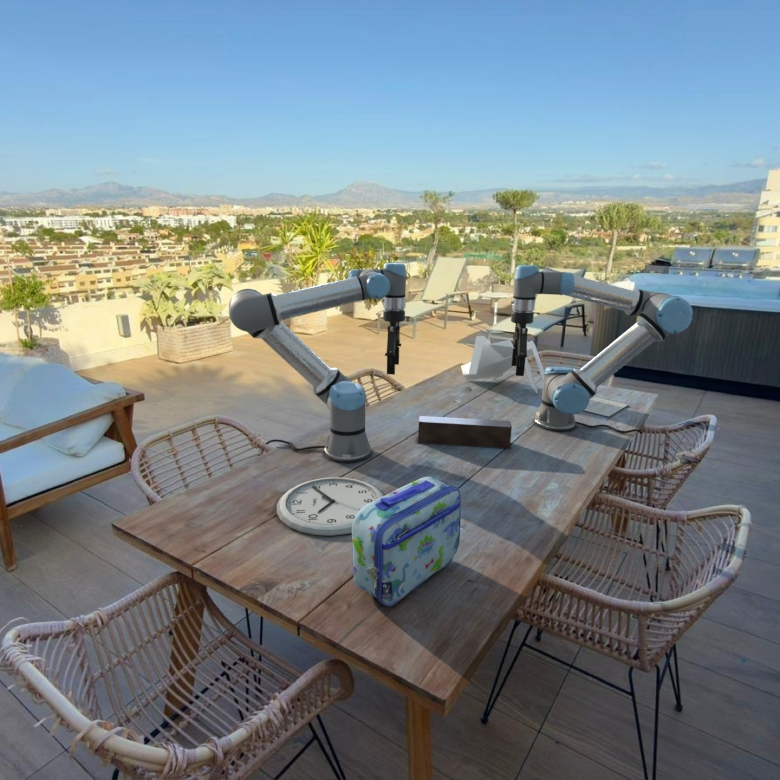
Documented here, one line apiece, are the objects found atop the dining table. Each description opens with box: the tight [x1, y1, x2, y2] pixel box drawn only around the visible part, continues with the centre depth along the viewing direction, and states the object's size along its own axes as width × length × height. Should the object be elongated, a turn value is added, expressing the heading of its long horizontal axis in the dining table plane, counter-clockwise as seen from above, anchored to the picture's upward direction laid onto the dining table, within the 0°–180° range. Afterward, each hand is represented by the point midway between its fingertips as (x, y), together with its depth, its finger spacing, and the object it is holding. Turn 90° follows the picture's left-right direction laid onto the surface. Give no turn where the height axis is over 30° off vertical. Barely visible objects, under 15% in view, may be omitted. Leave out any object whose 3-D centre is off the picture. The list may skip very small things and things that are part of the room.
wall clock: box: [276, 476, 385, 537], centre depth 142 cm, size 30×2×30 cm
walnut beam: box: [417, 415, 513, 449], centre depth 185 cm, size 32×6×8 cm, turn 83°
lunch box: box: [351, 476, 462, 607], centre depth 111 cm, size 26×11×21 cm, turn 135°
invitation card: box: [583, 396, 629, 418], centre depth 226 cm, size 21×1×15 cm
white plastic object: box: [460, 309, 545, 394], centre depth 253 cm, size 37×45×31 cm
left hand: (393, 369), depth 186 cm, fingers open, 13 cm apart
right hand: (517, 370), depth 186 cm, fingers open, 13 cm apart
